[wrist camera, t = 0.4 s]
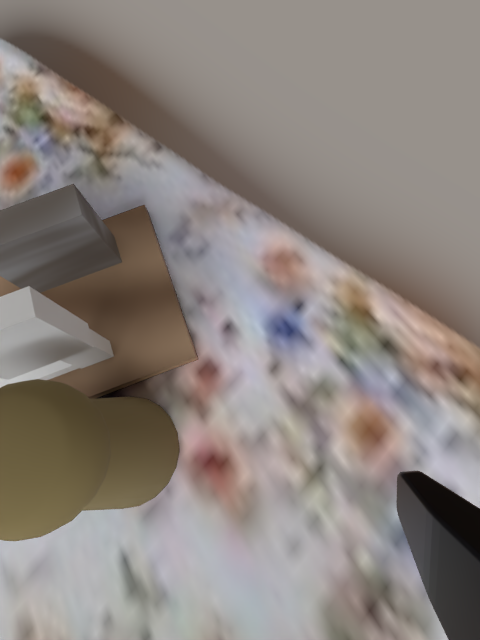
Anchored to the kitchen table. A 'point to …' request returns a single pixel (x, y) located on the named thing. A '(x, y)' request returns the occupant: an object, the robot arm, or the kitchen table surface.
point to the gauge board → (98, 284)
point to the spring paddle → (44, 339)
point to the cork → (77, 455)
